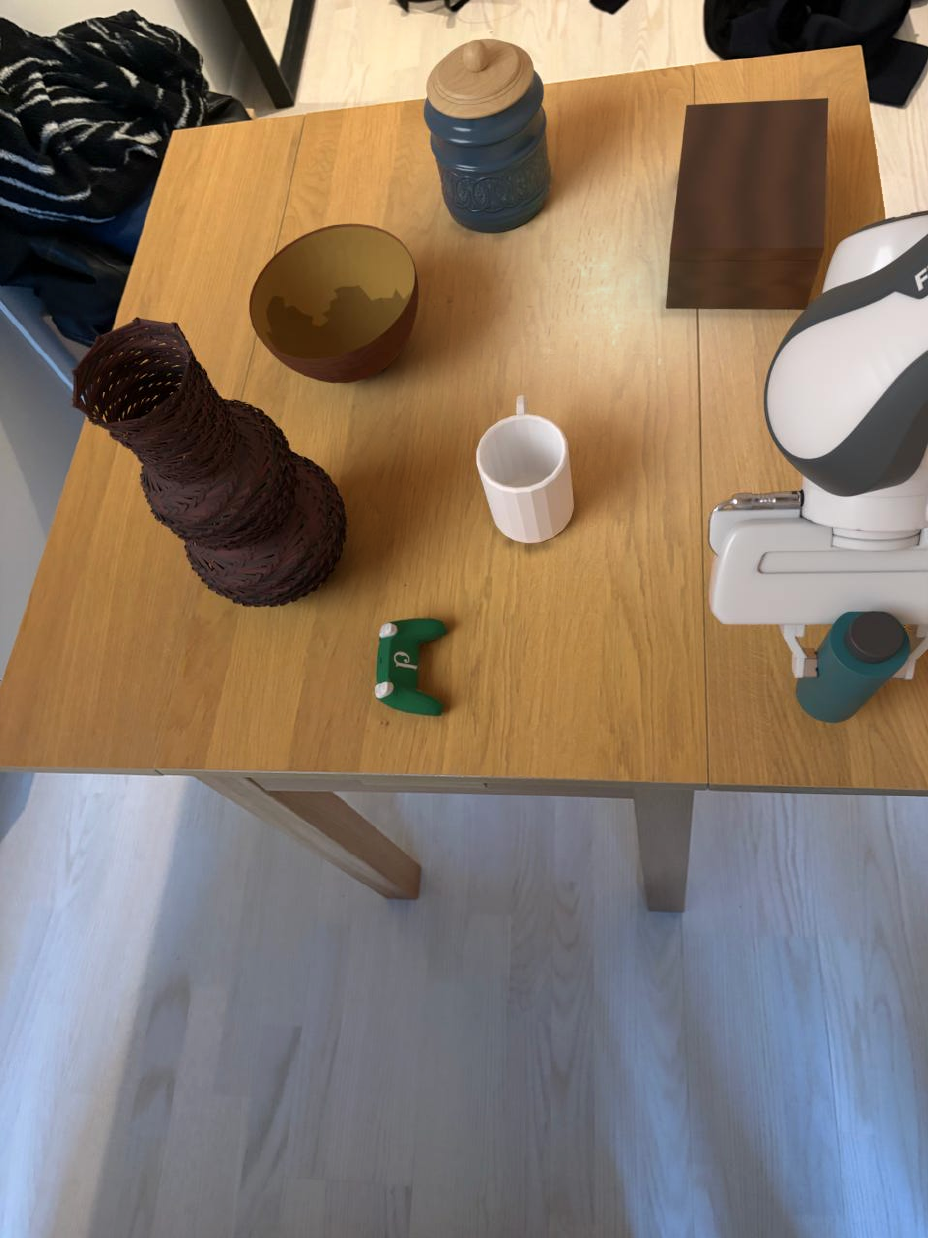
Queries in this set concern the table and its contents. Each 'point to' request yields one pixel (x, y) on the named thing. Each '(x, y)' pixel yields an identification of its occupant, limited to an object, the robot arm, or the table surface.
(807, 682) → the bottle
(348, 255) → the bowl
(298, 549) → the vase
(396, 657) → the gaming controller
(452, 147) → the canister
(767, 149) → the wooden box
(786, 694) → the table surface
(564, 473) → the mug
